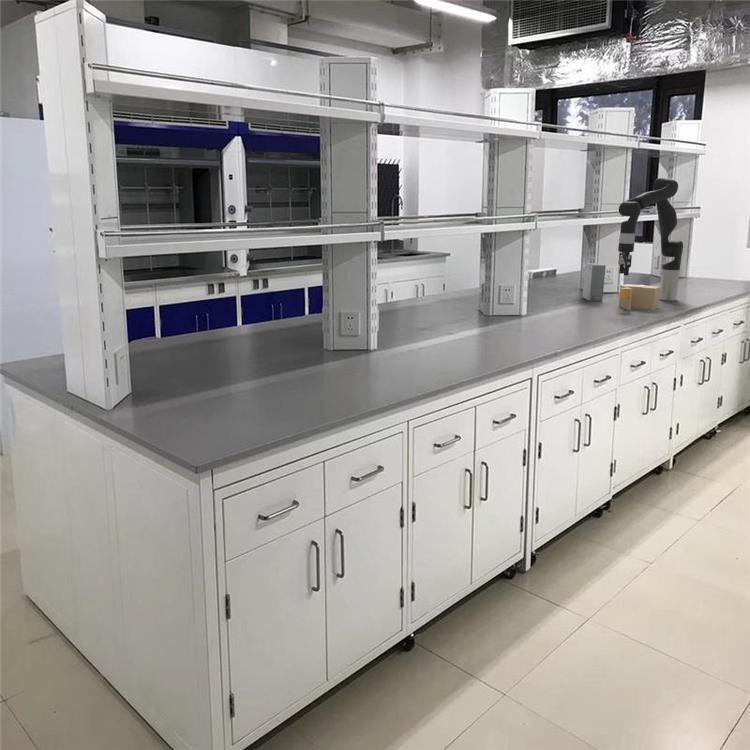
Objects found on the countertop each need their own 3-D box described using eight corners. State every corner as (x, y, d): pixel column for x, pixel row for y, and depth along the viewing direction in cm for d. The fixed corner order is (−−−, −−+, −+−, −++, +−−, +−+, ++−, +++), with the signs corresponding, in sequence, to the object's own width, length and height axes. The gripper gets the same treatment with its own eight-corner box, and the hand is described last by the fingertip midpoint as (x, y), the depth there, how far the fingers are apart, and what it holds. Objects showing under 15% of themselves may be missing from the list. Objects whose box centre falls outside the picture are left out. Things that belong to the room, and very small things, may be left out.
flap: (620, 305, 382) (622, 285, 380) (630, 310, 367) (632, 289, 364) (611, 305, 382) (612, 284, 380) (620, 310, 367) (622, 289, 364)
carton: (625, 304, 391) (627, 283, 388) (658, 307, 380) (660, 286, 377) (619, 306, 384) (620, 285, 381) (653, 309, 373) (655, 288, 370)
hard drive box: (602, 301, 400) (606, 265, 395) (589, 301, 400) (592, 265, 395) (595, 297, 415) (598, 262, 410) (581, 297, 415) (584, 262, 410)
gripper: (638, 243, 354) (635, 276, 358) (630, 241, 368) (627, 272, 372) (622, 243, 355) (619, 276, 359) (615, 241, 368) (612, 272, 372)
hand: (623, 274), depth 365 cm, fingers open, 8 cm apart
